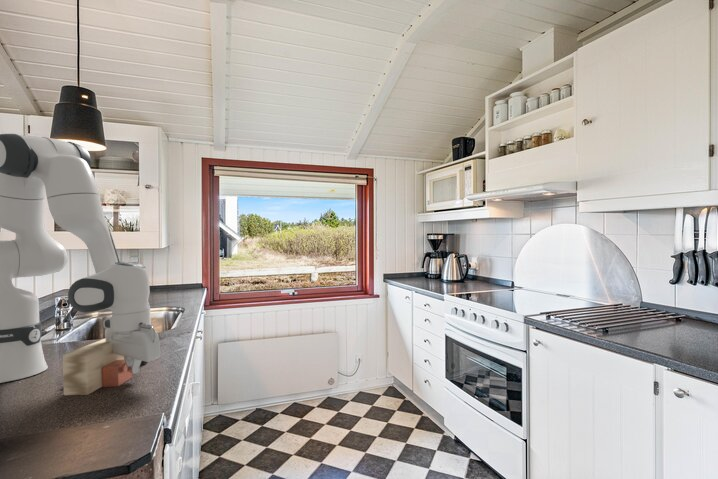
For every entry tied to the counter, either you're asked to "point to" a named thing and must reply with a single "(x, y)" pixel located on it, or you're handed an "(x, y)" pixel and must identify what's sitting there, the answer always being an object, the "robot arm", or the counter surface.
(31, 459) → the counter surface
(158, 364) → the counter surface
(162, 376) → the counter surface
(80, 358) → the birch block
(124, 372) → the orange and grey bar
